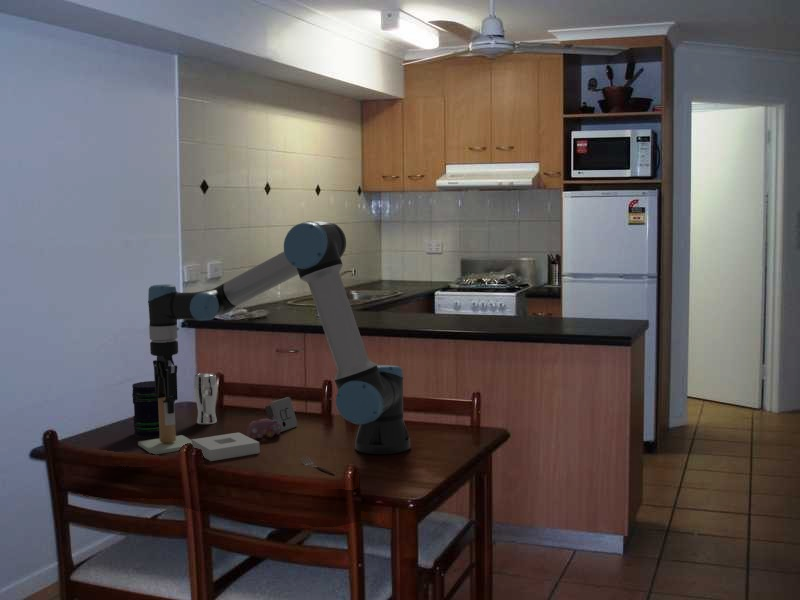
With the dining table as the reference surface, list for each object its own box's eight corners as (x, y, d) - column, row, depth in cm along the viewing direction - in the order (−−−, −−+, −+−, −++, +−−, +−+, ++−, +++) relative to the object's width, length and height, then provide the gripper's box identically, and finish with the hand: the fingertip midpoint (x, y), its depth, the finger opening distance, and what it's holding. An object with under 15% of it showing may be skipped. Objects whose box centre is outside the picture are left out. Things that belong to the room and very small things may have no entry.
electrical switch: (280, 433, 277) (276, 402, 276) (266, 433, 279) (262, 402, 279) (298, 426, 285) (295, 396, 284) (284, 426, 287) (281, 396, 287)
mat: (198, 447, 261) (198, 444, 261) (152, 454, 254) (152, 451, 254) (182, 438, 272) (182, 435, 272) (138, 445, 265) (137, 441, 265)
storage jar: (134, 438, 272) (132, 388, 271) (133, 431, 282) (131, 382, 280) (169, 435, 275) (167, 385, 274) (167, 428, 285) (165, 380, 283)
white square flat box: (259, 453, 254) (259, 442, 254) (210, 461, 247) (210, 450, 246) (239, 442, 266) (238, 432, 266) (191, 450, 258) (191, 439, 258)
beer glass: (191, 424, 290) (189, 376, 288) (202, 419, 296) (200, 372, 295) (211, 425, 288) (209, 377, 286) (222, 420, 294) (220, 373, 293)
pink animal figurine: (247, 444, 270) (248, 425, 266) (245, 434, 274) (246, 415, 270) (281, 441, 273) (283, 423, 269) (279, 431, 276) (280, 413, 273)
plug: (178, 440, 262) (176, 398, 261) (162, 443, 260) (161, 400, 259) (172, 437, 266) (171, 396, 265) (157, 440, 263) (155, 398, 262)
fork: (330, 478, 231) (330, 470, 231) (299, 464, 244) (299, 456, 244) (339, 476, 232) (339, 468, 232) (308, 462, 245) (308, 455, 245)
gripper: (187, 342, 255) (191, 426, 257) (166, 335, 269) (169, 415, 272) (161, 345, 251) (164, 430, 253) (140, 338, 265) (144, 419, 268)
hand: (167, 422), depth 262 cm, fingers closed on plug, 4 cm apart
